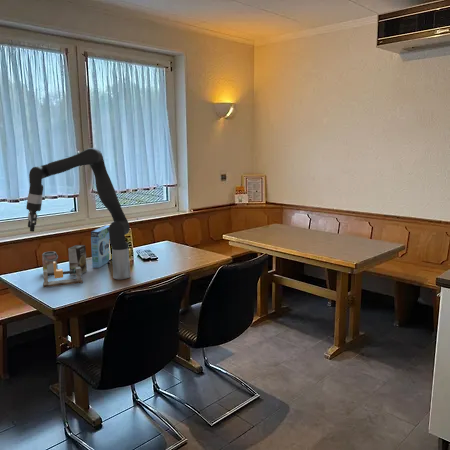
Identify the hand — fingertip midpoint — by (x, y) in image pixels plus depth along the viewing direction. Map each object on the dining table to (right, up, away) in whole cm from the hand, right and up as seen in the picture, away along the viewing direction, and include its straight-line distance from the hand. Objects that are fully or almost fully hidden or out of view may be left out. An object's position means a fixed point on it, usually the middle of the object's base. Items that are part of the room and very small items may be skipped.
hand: (30, 229), depth 248 cm
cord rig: (+21, -30, -8) cm, 37 cm away
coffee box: (+24, -26, +11) cm, 37 cm away
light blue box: (+32, -22, +31) cm, 50 cm away
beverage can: (+7, -26, +12) cm, 29 cm away
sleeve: (+20, -26, -10) cm, 34 cm away
